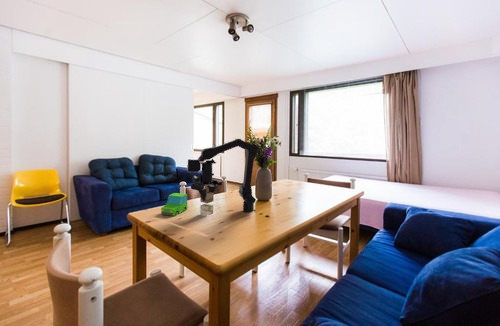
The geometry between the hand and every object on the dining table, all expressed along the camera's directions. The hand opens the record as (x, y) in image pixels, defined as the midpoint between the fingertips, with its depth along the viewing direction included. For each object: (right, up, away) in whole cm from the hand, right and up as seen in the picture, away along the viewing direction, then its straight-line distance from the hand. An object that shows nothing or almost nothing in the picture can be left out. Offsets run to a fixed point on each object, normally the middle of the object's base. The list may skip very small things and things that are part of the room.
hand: (207, 199), depth 129 cm
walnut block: (0, -1, 0) cm, 1 cm away
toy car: (-19, -8, +2) cm, 20 cm away
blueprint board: (-1, -8, +1) cm, 9 cm away
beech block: (0, -8, +1) cm, 8 cm away
